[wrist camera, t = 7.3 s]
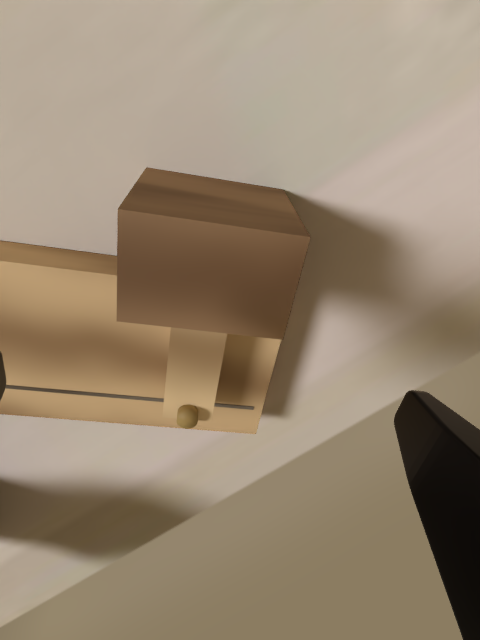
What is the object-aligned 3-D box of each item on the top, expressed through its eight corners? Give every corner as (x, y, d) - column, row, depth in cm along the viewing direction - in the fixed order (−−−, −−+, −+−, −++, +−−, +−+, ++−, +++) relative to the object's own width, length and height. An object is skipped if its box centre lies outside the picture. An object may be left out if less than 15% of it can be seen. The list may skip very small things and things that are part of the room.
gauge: (242, 375, 23) (250, 460, 18) (137, 365, 23) (114, 451, 18) (283, 189, 18) (310, 237, 13) (146, 167, 17) (117, 209, 12)
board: (252, 409, 25) (255, 434, 23) (-144, 374, 22) (-175, 400, 20) (286, 278, 20) (292, 298, 19) (-211, 212, 17) (-259, 228, 16)
